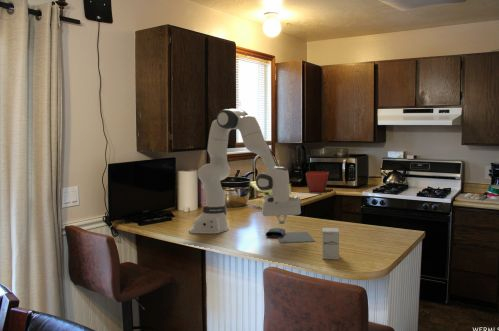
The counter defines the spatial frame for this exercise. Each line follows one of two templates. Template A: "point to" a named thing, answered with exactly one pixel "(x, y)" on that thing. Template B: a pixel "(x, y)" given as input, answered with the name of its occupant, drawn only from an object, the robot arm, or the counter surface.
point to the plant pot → (317, 181)
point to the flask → (275, 232)
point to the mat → (295, 237)
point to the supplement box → (330, 243)
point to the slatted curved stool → (264, 191)
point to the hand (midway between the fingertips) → (281, 223)
